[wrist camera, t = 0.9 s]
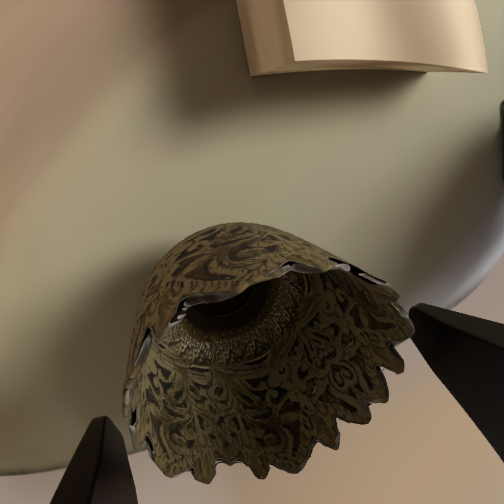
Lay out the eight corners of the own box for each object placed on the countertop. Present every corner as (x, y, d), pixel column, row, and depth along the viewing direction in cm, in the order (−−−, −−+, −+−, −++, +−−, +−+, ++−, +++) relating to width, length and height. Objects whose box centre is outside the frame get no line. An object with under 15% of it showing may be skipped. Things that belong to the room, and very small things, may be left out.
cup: (106, 318, 13) (101, 480, 6) (162, 155, 11) (191, 211, 4) (252, 351, 16) (321, 478, 9) (320, 221, 15) (453, 311, 8)
